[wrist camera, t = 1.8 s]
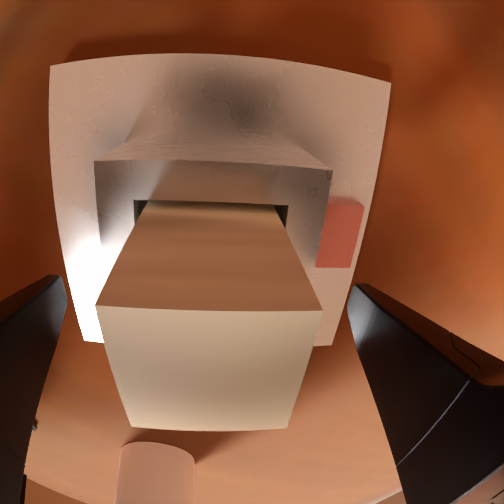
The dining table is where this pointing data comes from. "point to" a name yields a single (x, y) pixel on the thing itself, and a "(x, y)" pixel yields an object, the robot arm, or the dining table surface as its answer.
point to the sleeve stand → (213, 157)
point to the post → (208, 318)
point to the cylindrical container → (155, 475)
